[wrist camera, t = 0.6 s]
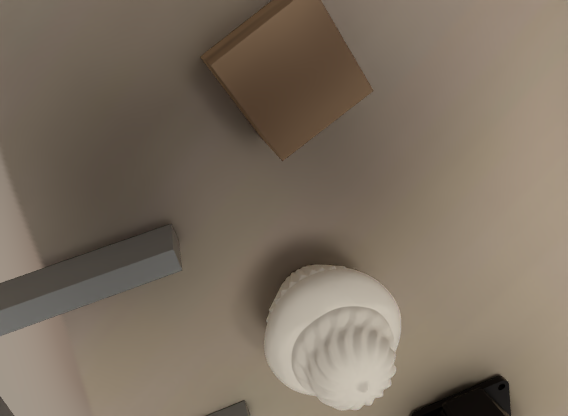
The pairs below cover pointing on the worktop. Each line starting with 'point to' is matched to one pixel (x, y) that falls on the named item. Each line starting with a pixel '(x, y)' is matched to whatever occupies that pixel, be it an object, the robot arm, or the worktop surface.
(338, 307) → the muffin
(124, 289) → the frame
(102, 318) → the worktop surface
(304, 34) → the walnut block
